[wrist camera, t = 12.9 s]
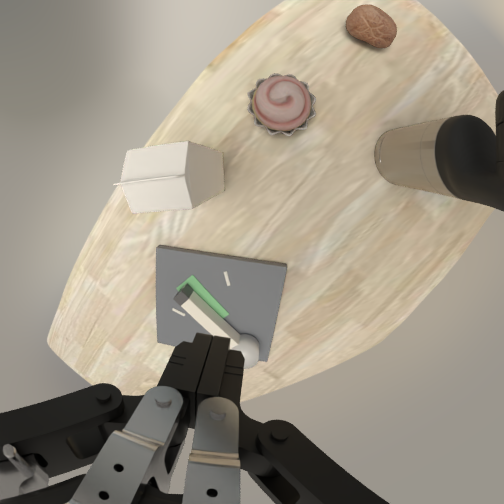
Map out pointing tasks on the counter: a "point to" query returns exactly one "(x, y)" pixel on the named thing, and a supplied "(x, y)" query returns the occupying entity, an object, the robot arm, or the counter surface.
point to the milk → (171, 176)
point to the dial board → (218, 294)
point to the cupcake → (281, 104)
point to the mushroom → (371, 26)
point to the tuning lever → (218, 325)
